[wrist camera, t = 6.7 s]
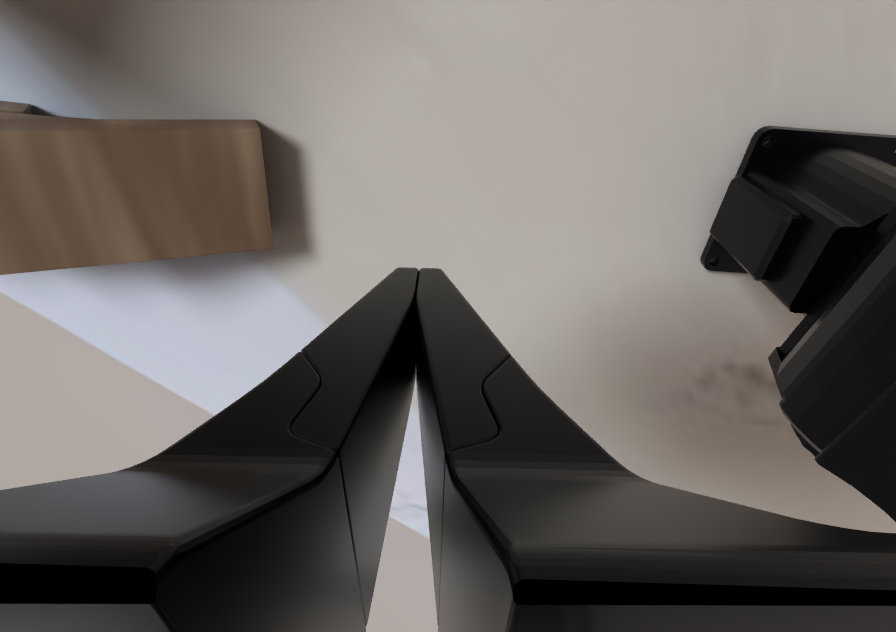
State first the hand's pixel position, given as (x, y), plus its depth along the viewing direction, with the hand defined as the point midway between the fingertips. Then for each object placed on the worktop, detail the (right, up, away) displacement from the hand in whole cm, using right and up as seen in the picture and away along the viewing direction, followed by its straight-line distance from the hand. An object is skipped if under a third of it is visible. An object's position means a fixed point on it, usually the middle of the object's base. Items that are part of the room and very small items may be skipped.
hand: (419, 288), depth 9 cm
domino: (-7, +5, +11) cm, 14 cm away
